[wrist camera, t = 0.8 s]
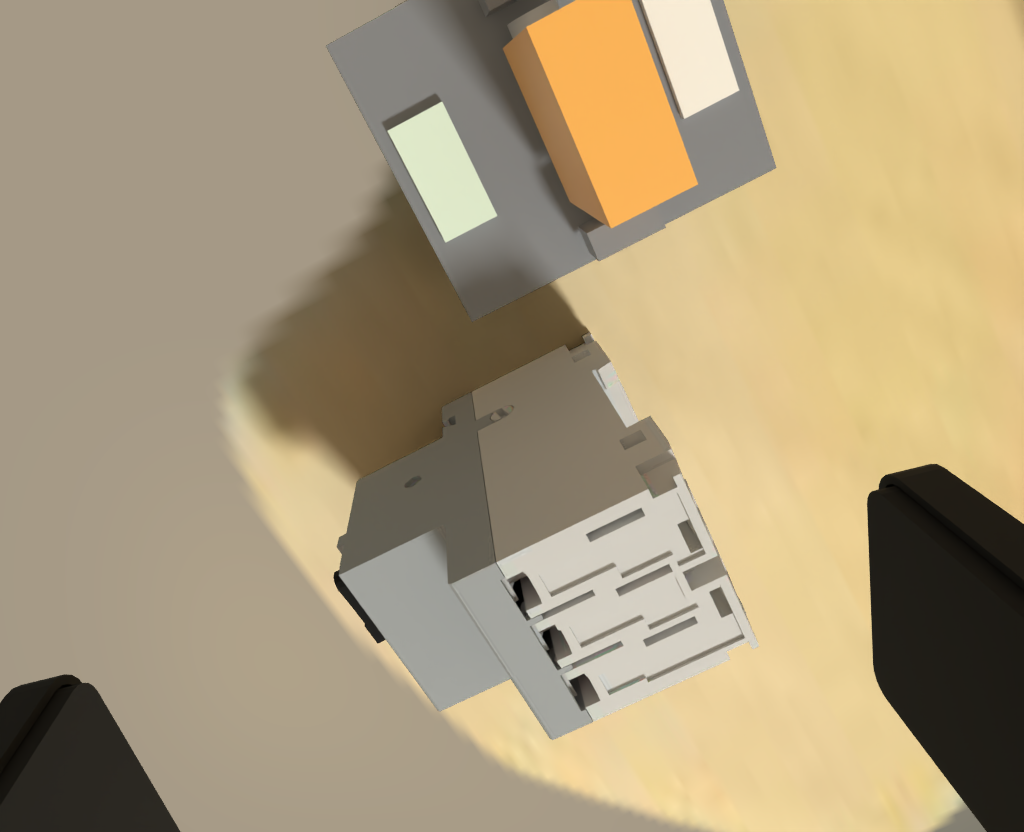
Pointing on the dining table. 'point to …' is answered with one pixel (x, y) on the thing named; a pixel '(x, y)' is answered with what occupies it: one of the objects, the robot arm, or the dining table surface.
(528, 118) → the panel
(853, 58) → the dining table surface
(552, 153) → the lever
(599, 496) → the circuit breaker
